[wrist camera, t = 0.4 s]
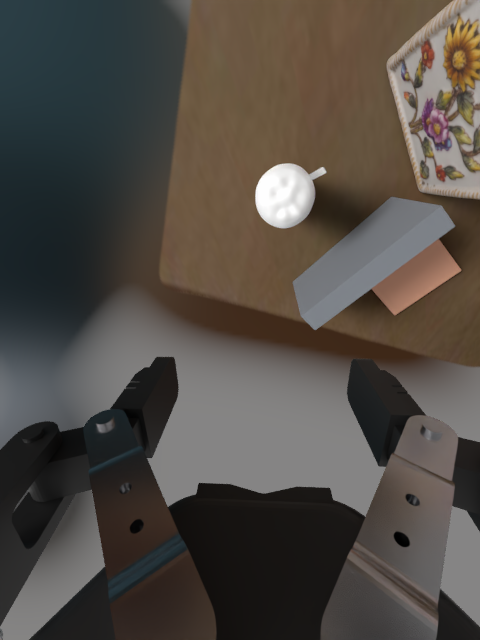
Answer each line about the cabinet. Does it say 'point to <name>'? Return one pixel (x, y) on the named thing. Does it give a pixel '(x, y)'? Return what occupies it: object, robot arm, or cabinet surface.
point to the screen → (368, 256)
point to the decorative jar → (442, 100)
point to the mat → (417, 277)
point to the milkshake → (286, 194)
